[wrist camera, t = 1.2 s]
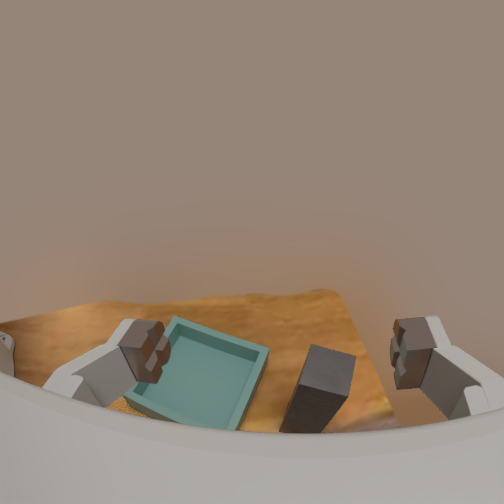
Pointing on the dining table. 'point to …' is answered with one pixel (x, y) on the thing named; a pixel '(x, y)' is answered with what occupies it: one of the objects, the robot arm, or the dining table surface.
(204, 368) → the tray
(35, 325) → the dining table surface
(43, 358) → the dining table surface
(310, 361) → the brushed steel pillar
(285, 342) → the dining table surface
